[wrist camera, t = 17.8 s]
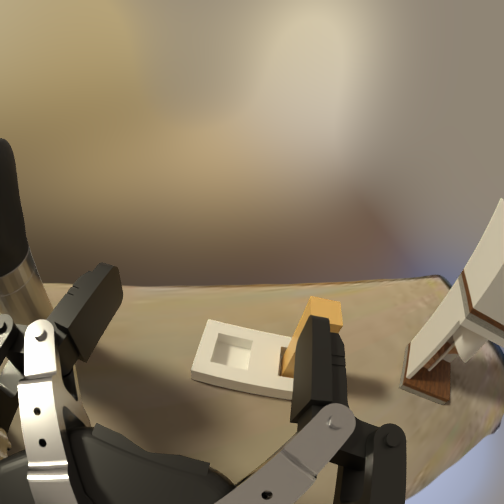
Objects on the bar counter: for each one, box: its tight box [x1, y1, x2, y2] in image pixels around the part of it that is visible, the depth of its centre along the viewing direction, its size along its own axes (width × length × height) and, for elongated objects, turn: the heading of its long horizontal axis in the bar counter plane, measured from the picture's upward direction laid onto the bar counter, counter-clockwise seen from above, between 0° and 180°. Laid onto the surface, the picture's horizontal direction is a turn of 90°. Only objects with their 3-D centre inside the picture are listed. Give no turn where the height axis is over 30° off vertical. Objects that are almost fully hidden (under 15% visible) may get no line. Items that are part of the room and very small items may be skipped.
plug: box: [280, 296, 343, 378], centre depth 36 cm, size 4×4×15 cm
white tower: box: [399, 198, 504, 405], centre depth 32 cm, size 11×11×35 cm
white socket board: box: [191, 319, 294, 400], centre depth 40 cm, size 20×10×3 cm, turn 81°
